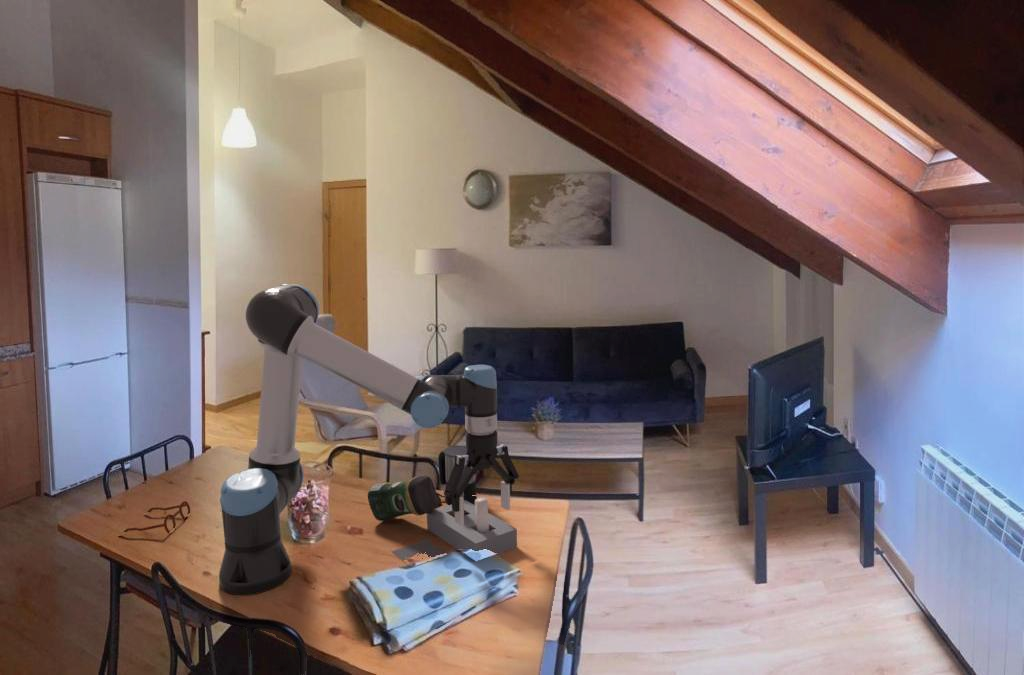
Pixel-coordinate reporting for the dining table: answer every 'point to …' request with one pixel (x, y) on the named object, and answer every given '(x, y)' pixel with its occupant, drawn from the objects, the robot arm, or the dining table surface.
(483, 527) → the peg
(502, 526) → the block
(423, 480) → the coffee jar
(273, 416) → the robot arm
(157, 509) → the glasses
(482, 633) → the dining table surface
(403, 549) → the mat
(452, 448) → the milk frother
